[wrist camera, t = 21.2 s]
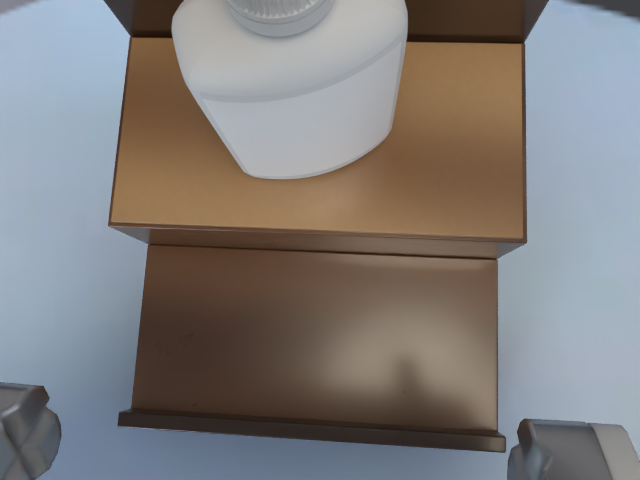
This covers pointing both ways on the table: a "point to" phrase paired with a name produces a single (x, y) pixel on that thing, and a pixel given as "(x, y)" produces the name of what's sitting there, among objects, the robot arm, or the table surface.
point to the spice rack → (330, 248)
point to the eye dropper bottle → (294, 78)
